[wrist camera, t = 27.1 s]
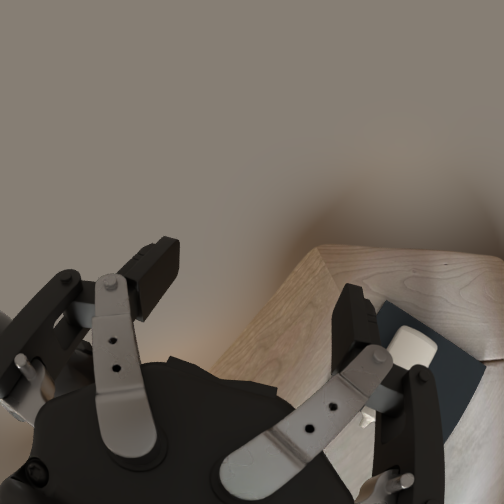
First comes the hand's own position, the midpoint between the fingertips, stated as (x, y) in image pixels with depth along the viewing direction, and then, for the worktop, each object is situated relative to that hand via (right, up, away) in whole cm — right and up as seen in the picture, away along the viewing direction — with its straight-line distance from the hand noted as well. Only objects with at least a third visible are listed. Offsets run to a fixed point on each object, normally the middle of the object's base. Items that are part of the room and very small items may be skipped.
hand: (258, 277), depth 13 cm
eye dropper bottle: (+19, -8, +13) cm, 25 cm away
